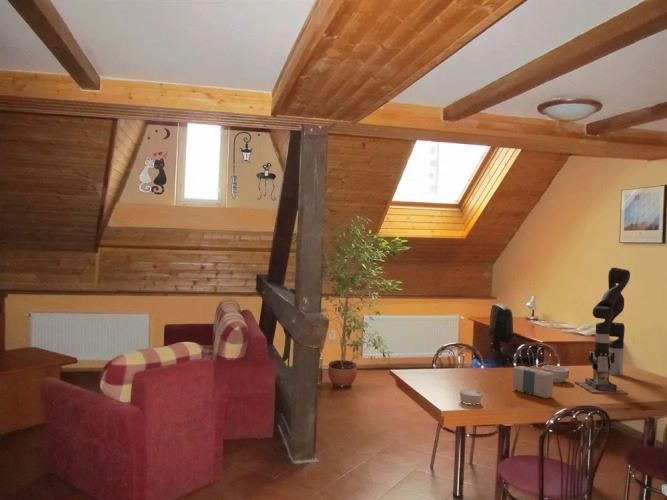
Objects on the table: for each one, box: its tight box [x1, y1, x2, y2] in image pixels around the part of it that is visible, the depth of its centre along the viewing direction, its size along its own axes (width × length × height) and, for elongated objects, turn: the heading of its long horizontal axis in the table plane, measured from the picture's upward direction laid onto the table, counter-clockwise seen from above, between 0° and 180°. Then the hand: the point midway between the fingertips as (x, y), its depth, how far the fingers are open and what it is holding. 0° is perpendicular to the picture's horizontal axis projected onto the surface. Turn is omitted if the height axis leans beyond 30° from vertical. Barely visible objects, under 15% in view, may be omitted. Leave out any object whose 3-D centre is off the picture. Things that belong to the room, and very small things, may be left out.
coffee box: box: [592, 354, 610, 385], centre depth 308 cm, size 9×6×16 cm
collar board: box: [574, 377, 629, 396], centre depth 308 cm, size 22×20×4 cm
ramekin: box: [459, 389, 483, 404], centre depth 274 cm, size 11×11×5 cm
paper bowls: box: [541, 365, 570, 384], centre depth 323 cm, size 15×15×8 cm
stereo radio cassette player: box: [512, 360, 554, 399], centre depth 293 cm, size 21×8×20 cm, turn 36°
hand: (601, 369), depth 308 cm, fingers closed on coffee box, 7 cm apart
